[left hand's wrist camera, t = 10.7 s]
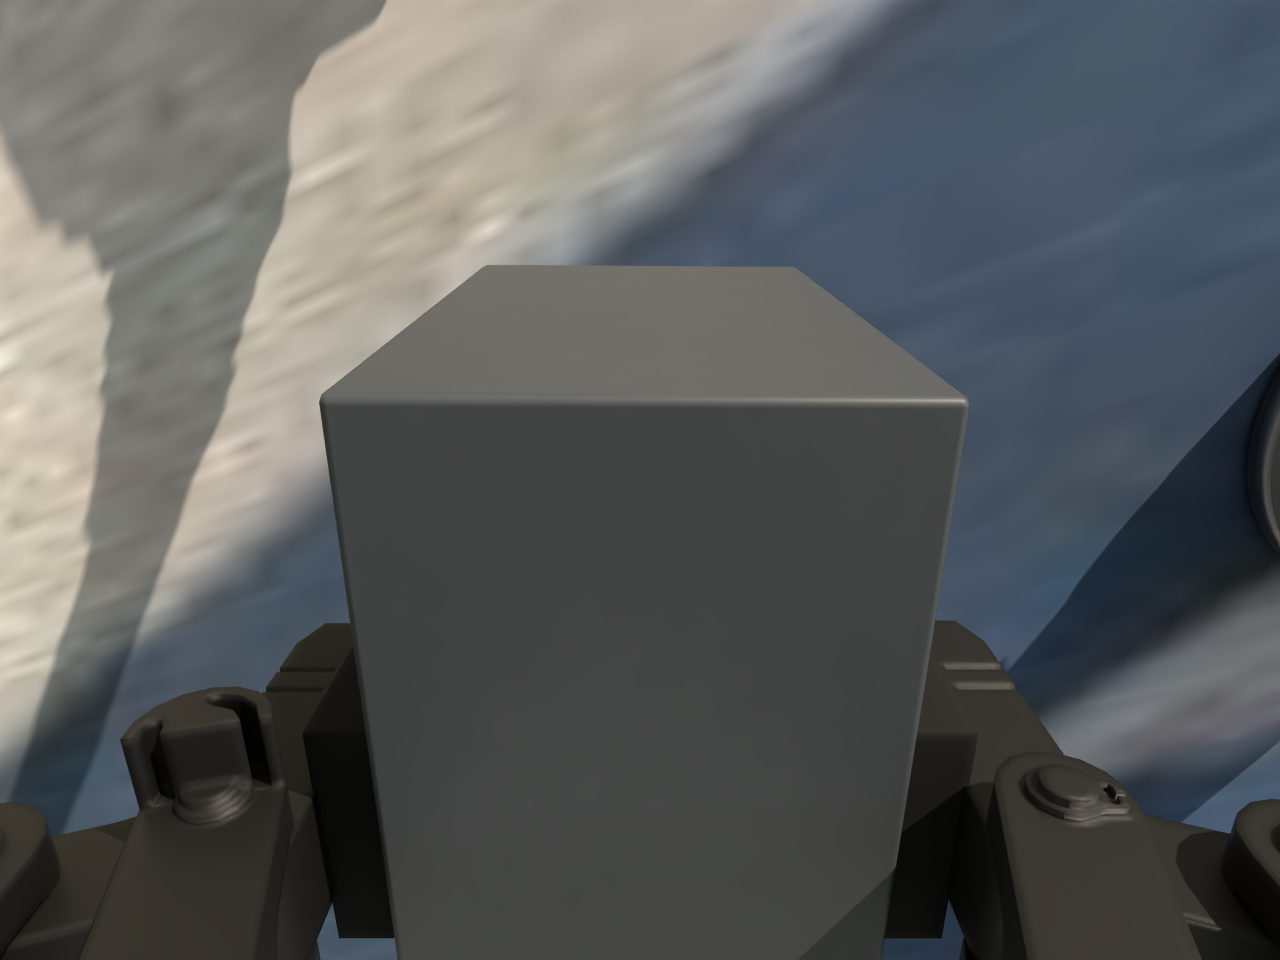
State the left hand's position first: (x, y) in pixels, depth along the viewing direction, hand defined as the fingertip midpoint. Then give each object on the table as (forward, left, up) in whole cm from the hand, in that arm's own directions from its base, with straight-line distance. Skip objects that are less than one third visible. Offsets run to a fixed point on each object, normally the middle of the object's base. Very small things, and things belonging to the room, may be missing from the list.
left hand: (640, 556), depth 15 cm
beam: (+8, +25, -1) cm, 26 cm away
